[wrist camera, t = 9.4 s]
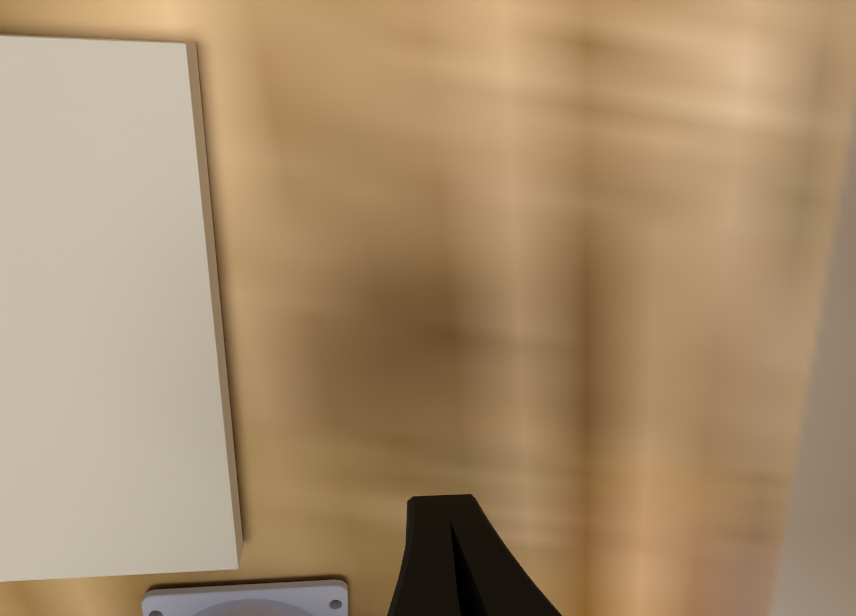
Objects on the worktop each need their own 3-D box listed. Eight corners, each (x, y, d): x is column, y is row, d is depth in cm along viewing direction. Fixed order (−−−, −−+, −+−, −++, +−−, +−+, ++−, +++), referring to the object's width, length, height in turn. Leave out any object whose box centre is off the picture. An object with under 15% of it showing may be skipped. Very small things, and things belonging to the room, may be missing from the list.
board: (243, 545, 25) (238, 569, 24) (-125, 563, 23) (-149, 589, 22) (195, 42, 18) (185, 43, 17) (-343, 19, 16) (-392, 19, 15)
